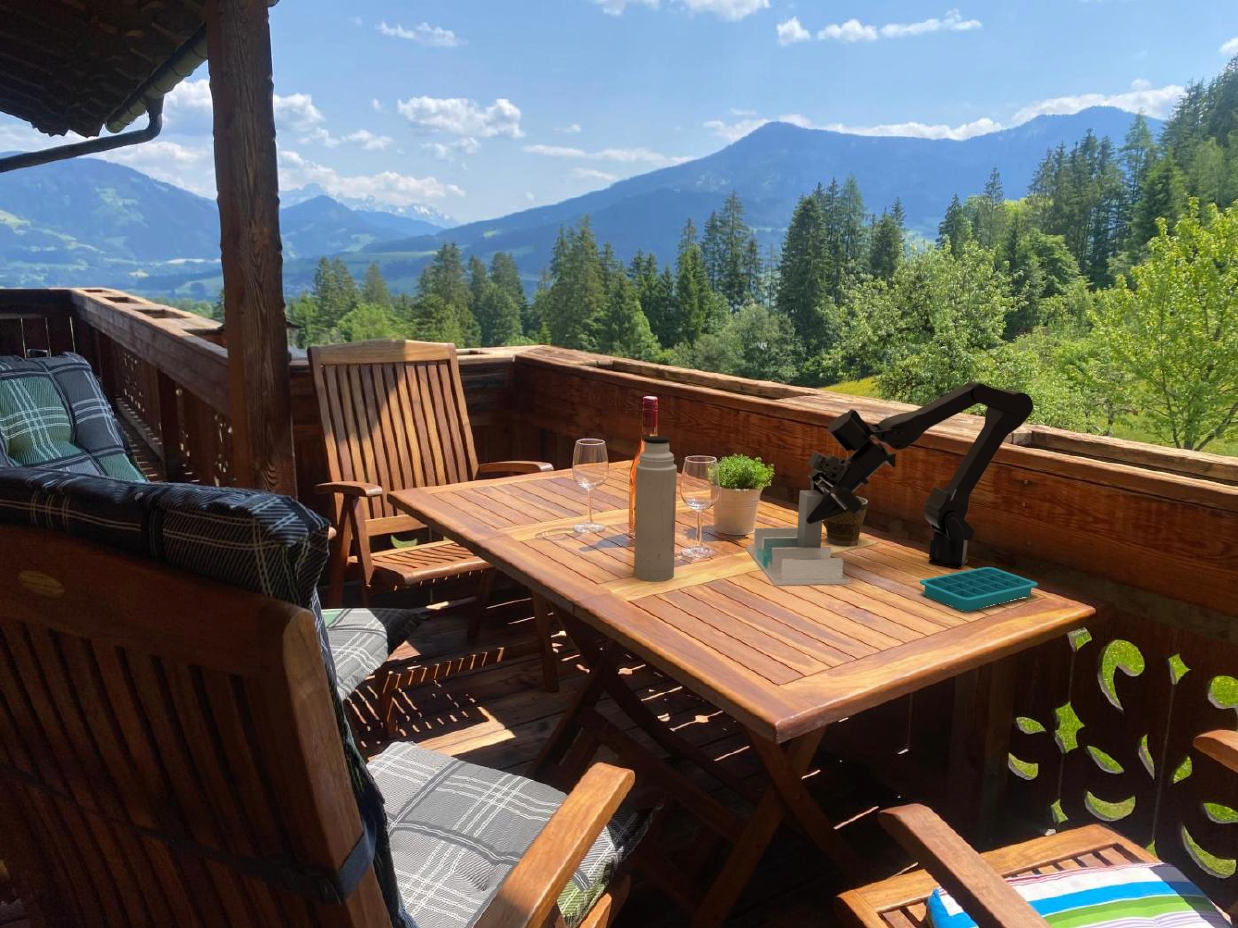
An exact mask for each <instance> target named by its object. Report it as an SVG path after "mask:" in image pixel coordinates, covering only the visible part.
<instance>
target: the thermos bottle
mask: <svg viewBox="0 0 1238 928" xmlns="http://www.w3.org/2000/svg"><path fill="white" fill-rule="evenodd" d="M643 440H644V442H645V443H644V451H642V452H641V453H640V454H639V459H638V460H639V462H638V463H637V464H636V466H635V501H634V503H635V505H634V506H635V510H634V516H635V517H634V530H635V533H634V535H635V536H634V558H633V559H634V560H633V561H634V562H633V563H634V565H633V575H634V577H636V578H637V579H639V580H643V581H648V582H664V581H667V580H668V581H669V580H671V579H672V578H674V575H675V547H676V546H675V545H676V515H677V514H676V513H677V512H676V510H677V481H678V480H677V477H678V476H677V475H678V473H677V471H678V466H677V464H675V463H674V460H675V457H674V453H672V452H671V451H670V444H669V443H670V437H668V436H663V435H649V436H644V438H643Z"/></svg>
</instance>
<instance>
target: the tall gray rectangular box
mask: <svg viewBox="0 0 1238 928" xmlns="http://www.w3.org/2000/svg"><path fill="white" fill-rule="evenodd" d="M798 497H799V498H798V499H799V501H798V515H797V516H798V517H797V527H798V529H797V545H796V546H797V547H822V546H821V545H822V535H823V534H822V533H823V523H822V520H821V521H818V522H815V523H812V524H809V523H808V522H807V521H806V520H807V518H808V517H809V516H810V514H811V513H812V512H813V511H814V509H815V508H816V507H817V506H818V505H819V504H820V502H821V501H822V500H823V495H822V494H820V493H819V492H818V491H816V490H811V489H810V490H799V496H798Z"/></svg>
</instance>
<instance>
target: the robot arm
mask: <svg viewBox="0 0 1238 928" xmlns="http://www.w3.org/2000/svg"><path fill="white" fill-rule="evenodd" d="M977 404H979V405H983V406H985V407H987V408H986V409H985V416H984V425H983V426H982V429H981V430H980V432H979V433H978V435H977V437H976V439H975V440H974V441H973V443H972V445H971V446H970V448H969V450H968V452H966V455H965V456H964V457H963V459H962V461H961V463H960V464H959V467H958V468H957V469H956V471H955V473H954V474H953V476H952V477H951V479H950V481H949V482H948V484H946V485H945V486H944V487H942V488H941V489H940V488H938V487H937V486H934V487H933V488H932V490H931V493H930V495H929V497H928V498H927V499H926V500H925V501H923V503H924V504H925V506H924V508H923V513H924V514H923V515H924V518H925V519H926V521H927V522H928V523H929V525H930V529H931V530H933V531H934V533H933V537H932V538H931V539H930V540H929V542H930V543H929V553H928V558H929V560H928V564H932V565H937V566H942V567H948V568H953V569H958V570H959V569H962V568H963V567H964V566H965V565H966V564H967V563H968V559H967V549H968V541H972V539H973V537H974V534H975V530H974V528H973V527H972V526H971V525H970V524H969V523H968V522H967V521H966V518H967V514H968V512H969V509H970V508H969V507H970V499H971V498H970V497H971V495H972V493H973V491H974V489H975V488H976V486H977V485H978V483H979V482H980V480H981V478H982V477H983V475H984V473H985V472H986V470H987V469H988V467H989V465H991V462H992V460H993V459H994V458H995V455H996V454H997V452H998V451H999V449H1000V448H1001V445H1002V444H1003V443H1004V441H1005V440H1006V438H1007V437H1008V436H1009V435H1010V434H1011V433H1013V432H1014V431H1016V430H1018V428H1020V427H1021V426H1022V425H1023V424H1024V423H1025V422H1026V420H1027V419H1028V418H1029V417H1031V414H1032V413H1033V410H1034V403H1033V400H1032V397H1031V396H1030V395H1029V394H1027V393H1026V392H1022V391H1017V390H1013V389H1008V388H1003V389H997V388H994V387H991V386H988V385H986V384H985V383H983V382H979V381H974V380H972V381H968V382H966V383H965V384H963V385H962V386H960V387H959V388H956V389H954V390H953V391H951V392H949V393H946V394H945V395H942V396H941V397H939V398H937V399H935V400H933V401H931V402H929V403H927V404H925V405H924V406H921V407H920V408H917V409H916V410H913V411H912V410H911V411H909V412H905V413H904V412H903V413H898V414H895V415H892V416H889V417H885V418H883V419H882V420H880V421H879V422H878V423H873V424H872V423H871V424H867V423H866V422H865V421H864V419H863V418H862V417H861V415H860V414H859V412H857V410H856V409H853V408H851V409H850V410H848V411H847V412H845V413H843V414H841V415H838V417H835V418H834V419H832V420H831V421H830V423H829V425H828V426H827V429H826V431H827V433H829V434H830V436H831V437H832V438H833V439H834V441H836V442H837V443H838V444H839V445H840V447H841V448H842V449H843V450H844V451H845V452H849V451H852V452H853V453H852V454H851V455H850V456H848V458H844V457H843V458H840V459H839V458H838V457H837V456H834V454H833V455H832V454H828V455H827V456H826V455H824V454H821V453H820V452H817V451H815V450H814V451H813V453H812V455H811V457H810V459H809V460H808V462H807V466H809V467H811V468H812V470H811V471H809V473H807V477H809V478H810V481H809V484H810V490H816V491H818V492H819V493H820V494H822V495H823V500H822V501H821V502H820V504H819V505H818V506H817V507H816V508H815V509H814V511H813V512H812V513H811V514H810V516H809V517H808V518H807V520H806V521H807V522H808V523H809V524H812V523H815V522H818V521H821V520H823V521H824V520H825V519H826V518H830V517H833V516H836V515H840V514H843V513H845V514H846V513H847V511H846V510H845V509H846V508H848V509H849V512H850V513H852V514H853V515H856V514H857V513H858V512H859V511H860V510H861V509H862V502H861V501H860V500H859V499H858V498H857V497H858V496H857V495H855V494H854V492H855V491H856V490H857V489H859V487H860V486H861V485H864V486H867V484H869V483H870V481H869V480H868V479H869V478H870V477H871V476H872V475H873V474H874V473H875V472H876V471H877V470H879V468H880V467H882V465H884V464H886V465H888V466H890V467H891V468H896V457H897V454H896V452H895V453H894V452H892V451H888V450H887V449H886V448H885V447H884V446H887V447H889V448H891V449H894V450H899V451H901V450H904V449H907V448H909V447H910V446H911V445H913V443H915V442H917V441H918V440H919V439H920V438H922V436H923V435H924V433H925V432H926V431H928V430H929V429H931V428H933V427H935V426H936V425H938V424H940V423H942V422H944V421H947V420H948V419H950V418H952V417H953V416H954V417H955V416H956V415H957V414H960V413H962V412H963V411H965V410H967V409H969V408H971V407H973V406H975V405H977ZM870 437H871V438H873V439H875V440H877V441H879V442H880V443H878V442H876V443H875V442H874V441H873V440H872V439H871V438H870ZM882 444H883V445H882ZM856 496H857V497H856Z"/></svg>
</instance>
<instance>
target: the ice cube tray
mask: <svg viewBox="0 0 1238 928" xmlns="http://www.w3.org/2000/svg"><path fill="white" fill-rule="evenodd" d="M919 584H920V585H922V586H924V597H927V598H929V597H930V598H929V599H931V598H933V599H932V600H934V599H935V600H934V601H936V600H937V602H938V601H939V603H942V604H943V603H944V605H946V604H948V605H951V606H953V607H955V608H954V609H956V608H957V609H956V610H958V609H960V610H963V611H962V612H965V611H967V612H972V610H974V611H976V610H975V609H978V610H981V609H980V608H982V609H984V608H983V607H986V606H990V605H993V604H999V603H1003V602H1007V601H1010V600H1014V599H1019V598H1022V597H1029V596H1030V597H1031V594H1032V593H1031V592H1032V589H1033V588H1035V587H1038V585H1039V583H1038V582H1037V581H1033V580H1030V579H1027V578H1024V577H1022V576H1019V575H1016V574H1013V573H1010V572H1007V571H1004V570H1002V569H998V568H995V567H993V566H991V567H990V566H985V567H979V568H975V569H974V568H973V569H969V570H965V571H959V572H954V573H949V574H945V575H944V574H943V575H939V576H935V577H929V578H924V579H920V580H919ZM1030 597H1029V598H1030ZM948 605H947V606H948ZM951 606H950V607H951ZM953 607H952V608H953ZM960 610H959V611H960Z"/></svg>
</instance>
